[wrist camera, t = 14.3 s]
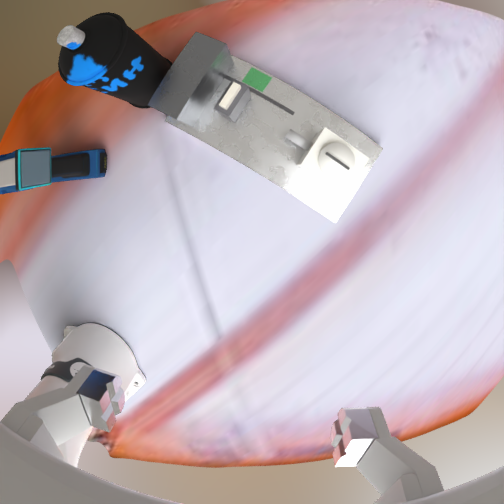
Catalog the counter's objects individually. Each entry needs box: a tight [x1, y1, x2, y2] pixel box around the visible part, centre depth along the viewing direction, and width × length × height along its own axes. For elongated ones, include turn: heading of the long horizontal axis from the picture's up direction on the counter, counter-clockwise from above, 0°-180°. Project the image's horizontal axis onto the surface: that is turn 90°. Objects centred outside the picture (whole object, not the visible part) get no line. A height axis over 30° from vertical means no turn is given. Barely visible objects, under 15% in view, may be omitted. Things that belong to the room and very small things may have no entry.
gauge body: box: [285, 127, 369, 195], centre depth 31 cm, size 9×5×6 cm, turn 59°
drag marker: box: [214, 79, 251, 123], centre depth 30 cm, size 2×4×6 cm, turn 149°
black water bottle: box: [57, 12, 173, 108], centre depth 24 cm, size 8×8×20 cm
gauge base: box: [148, 32, 383, 223], centre depth 31 cm, size 26×12×8 cm, turn 59°
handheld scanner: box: [0, 147, 107, 194], centre depth 28 cm, size 5×16×20 cm, turn 88°
